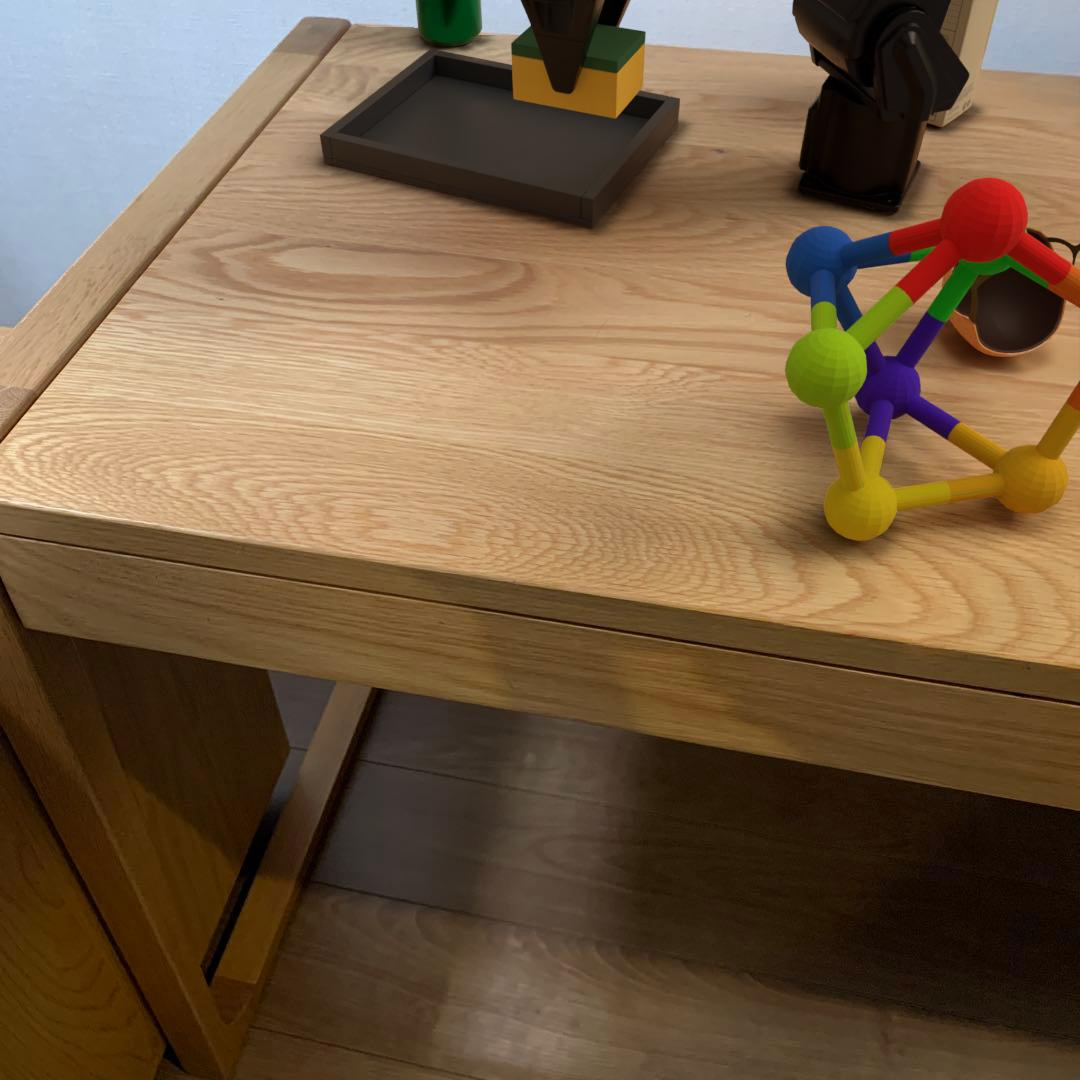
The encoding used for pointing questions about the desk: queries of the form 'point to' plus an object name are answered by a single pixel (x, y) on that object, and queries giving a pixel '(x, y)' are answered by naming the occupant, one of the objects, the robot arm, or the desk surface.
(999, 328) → the helmet
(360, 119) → the tray
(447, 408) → the desk surface
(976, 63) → the cosmetic box
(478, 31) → the soda can
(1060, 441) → the educational toy
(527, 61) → the sponge
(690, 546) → the desk surface
